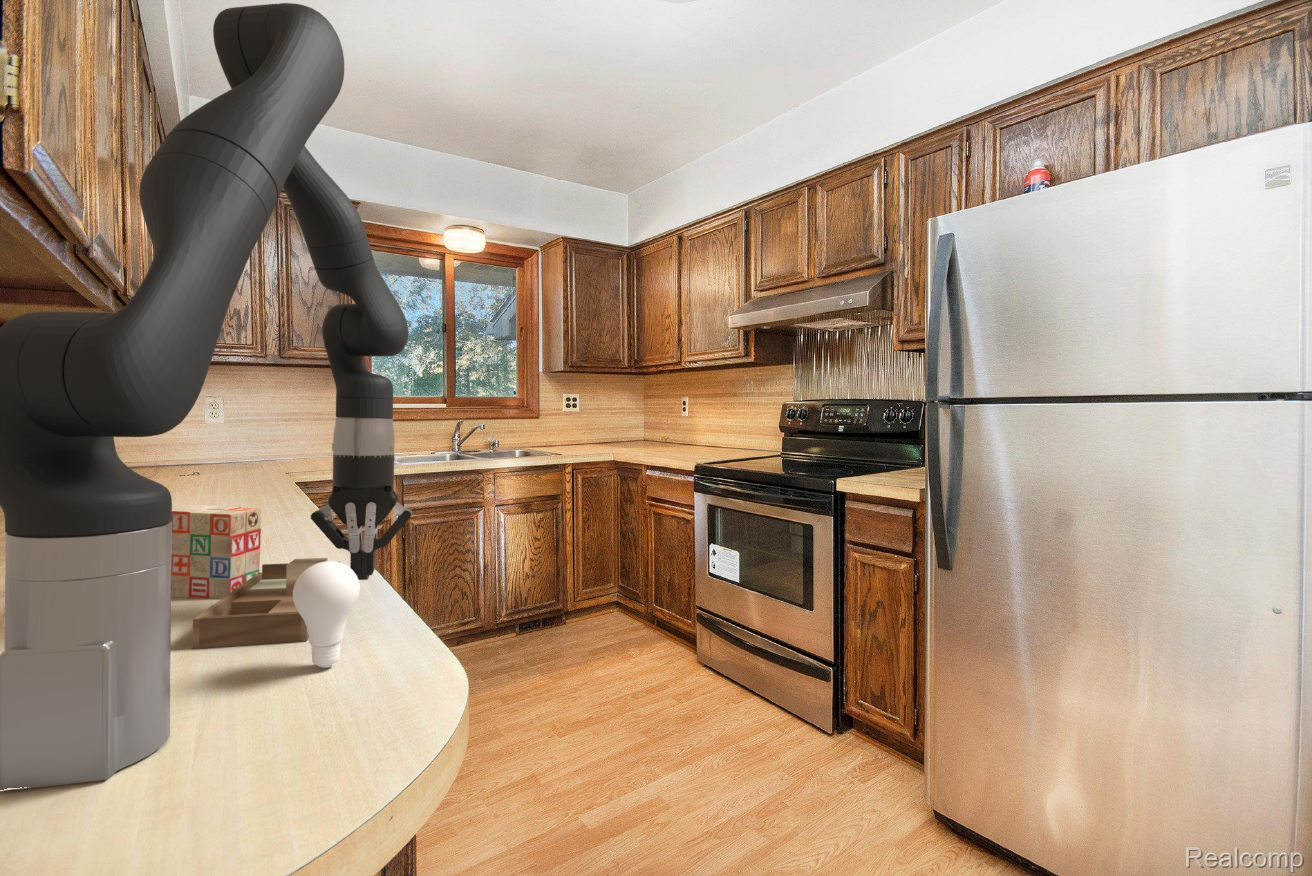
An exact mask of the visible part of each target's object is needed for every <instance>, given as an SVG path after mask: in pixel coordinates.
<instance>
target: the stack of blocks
mask: <svg viewBox="0 0 1312 876" xmlns="http://www.w3.org/2000/svg"><path fill="white" fill-rule="evenodd" d="M261 518H262V509H261V508H253V507H241V506H239V505H238V506H235V505H234V506H233V505H232V506H231V505H218V506H217V505H196V504H195V505H192V504H191V505H190V504H181V505H174V506H172V521H171V522H172V556H171V597H181V598H196V599H197V598H198V599H216V600H217V599H219V600H221V599H222V598H224V597H225V596H227V595H228V594H229V593H231V592H232V591H234V590H235V589H236V588H238V587H239V586H241V585H242V584H243V583H245V582H246V581H248V580H249V579H251V578H252V577H253V576H255V575H256V574H258V573H261V572H260V571H261V569H260V564H261V563H260V559H261V558H260V557H261V556H260V555H261V543H262V538H261V537H262V535H261V534H262V529H261V525H262V524H261V523H262V522H261V521H262V519H261Z"/></svg>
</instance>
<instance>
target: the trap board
mask: <svg viewBox="0 0 1312 876" xmlns="http://www.w3.org/2000/svg"><path fill="white" fill-rule="evenodd" d="M338 562H339V563H341V561H338ZM289 563H290V562H289ZM289 563H287V562H286V563H263V564H262V565H261V572H260V573H258V574H256V575H255V576H253V577H252V578H251V579H249V580H248V581H246V582H245V583H243V584H242V585H241V586H239V587H238V588H236V589H235V590H234V591H232V592H231V593H229V594H228V595H227V596H225V597H224V598H222V599H219V600H218V601H216V602H215V603H214V604H212V605H211V606H210V607H208V608H207V609H206V610H204V611H203V612H201V613H200V614H198V615H197V616H196V617H194V618H192V619H193V620H192V649H193V650H197V649H211V648H212V649H213V648H227V647H238V646H239V647H241V646H244V647H245V646H257V645H273V644H283V643H282V642H289V643H299V642H300V641H301V642H302V641H304V642H308V641H309V639H308V638H309V634H308V630H307V626H306V624H305V621H304V620H303V618H302V617H301V615H300V614H299V612H298V610H297V608H296V607H295V605H294V601H293V596H286V566H287V565H288V564H289ZM301 642H300V643H301Z"/></svg>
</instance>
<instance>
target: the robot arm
mask: <svg viewBox="0 0 1312 876" xmlns="http://www.w3.org/2000/svg"><path fill="white" fill-rule="evenodd" d="M213 22H214V23H213V27H212V34H213V36H212V37H213V43H214V48H215V52H216V55H217V58H218V60H219V63H220V66H221V68H222V71H223V73H224V76H225V78H226V80H227V83H228V85H229V86H230V90H227V91H226V92H224V93H222V94H220V95H218V96H217V97H214V99H211V100H210V101H208V102H207V103H205V104H203V105H202V106H200V107H198V108H197V109H195V110H194V111H192V112H190V114H187V116H185V117H184V118H182V119H181V120H180V121H179V122H178V123H177V124H176V125H175V126H174V127H173V128H172V129H171V131H169V133H168V134H167V135H166V136H165V138H164V140H163V141H162V142H161V144H160V146H158V147H159V148H157V150H156V152H155V153H154V155H153V157H152V158H151V159H150V161H149V162H148V164H147V166H146V168H145V170H144V172H143V174H142V175H141V179H140V182H139V192H138V194H139V198H138V199H139V205H140V209H141V212H142V213H141V214H142V216H143V219H144V223H145V226H146V229H147V232H148V235H149V237H150V240H151V245H152V248H153V258H152V261H151V263H150V266H149V269H148V271H147V273H146V275H145V277H144V278H143V281H142V282H141V284H140V286H139V287H138V289H137V290H136V292H135V293H134V295H133V296H132V297H131V299H130V300H129V301H128V302H127V303H126V304H125V306H123V307H121V309H119V310H118V311H115V312H95V311H93V312H92V311H90V312H89V311H88V312H87V311H85V312H84V311H34V312H29V313H27V312H26V313H24V314H21V315H18V316H15V317H13V318H11V319H10V320H8V321H7V322H5V323H4V324H3V325H2V326H0V508H1V509H2V511H3V515H4V532H5V543H4V544H5V550H4V551H5V561H4V562H5V563H4V564H5V567H4V568H5V570H4V572H5V573H4V651H2V653H0V790H4V789H7V788H20V787H22V788H24V787H27V789H29V788H28V787H36V788H42V787H43V786H44V787H49V786H50V787H52V785H53V786H60V785H61V786H62V785H69V784H79V783H86V782H94V781H95V782H97V781H104V780H107V779H109V778H110V777H111V776H113V774H114V773H116V772H117V771H119V770H121V769H123V768H126V767H128V766H129V765H132V764H135V763H136V762H137V763H138V762H139V761H141V760H143V759H146V757H148V756H150V755H152V754H154V753H155V752H156V751H157V750H158V749H159V750H160V748H162V747H163V746H164V744H166V742H167V741H168V739H169V738H170V734H171V642H172V641H171V638H172V637H171V634H172V633H171V631H172V629H171V628H172V627H171V625H172V624H171V623H172V622H171V621H172V619H171V618H172V617H171V616H172V615H171V613H172V610H171V609H172V596H171V556H172V522H171V521H172V507H173V501H172V500H173V499H172V494H171V492H170V490H169V489H168V488H167V487H166V486H165V485H163V484H162V483H160V482H157V481H154V480H152V479H150V478H148V477H146V476H144V475H141V474H139V473H138V472H136V471H134V470H133V469H131V468H130V467H129V466H128V465H127V464H126V463H124V461H122V459H121V458H120V457H119V455H118V453H117V449H116V444H115V438H145V437H146V438H147V437H155V436H160V435H164V434H165V433H168V432H170V431H172V430H173V429H174V428H176V427H177V426H179V425H180V424H181V423H182V422H183V421H184V420H185V418H186V417H187V416H188V415H189V413H190V412H191V411H192V409H194V408H193V407H194V406H195V404H196V402H197V400H198V399H199V395H200V394H201V392H202V389H203V386H204V384H205V381H206V378H207V375H208V372H209V369H210V366H211V363H212V360H213V357H214V353H215V349H216V347H217V344H218V341H219V338H220V334H221V331H222V327H223V324H224V322H225V319H226V315H227V313H228V309H229V306H230V304H231V301H232V299H233V296H234V294H235V291H236V289H237V286H238V284H239V283H240V279H241V277H242V274H243V273H244V270H245V268H246V266H247V264H248V261H249V259H250V257H251V255H252V253H253V251H254V248H255V247H256V245H257V244H258V243H257V242H258V241H259V239H260V237H261V235H262V234H263V232H264V231H265V228H266V227H267V224H268V223H269V222H268V221H269V220H270V218H271V216H272V213H273V212H274V210H275V207H276V206H277V202H278V200H279V198H280V196H281V193H282V192H283V191H284V193H285V194H286V197H287V199H288V201H289V203H290V205H291V208H292V211H293V212H294V215H295V217H296V220H297V223H298V225H299V228H300V231H301V233H302V236H303V238H304V242H305V245H306V247H307V250H308V253H309V256H310V259H311V262H312V264H313V267H314V270H315V273H316V276H317V278H318V280H319V283H320V284H321V285H322V287H324V288H325V289H327V290H330V291H333V292H336V293H341V294H344V295H345V296H348V297H350V298H351V300H352V301H353V303H339V304H336V305H334V306H333V307H331V308H330V309H329V310H328V311H327V313H326V314H325V316H324V319H323V322H322V329H321V331H322V333H321V335H322V340H323V344H324V349H325V351H326V352H325V353H326V355H327V359H328V361H329V366H330V371H331V374H332V377H333V381H334V385H335V392H336V393H335V417H336V418H335V422H334V428H333V435H332V436H333V440H332V441H333V442H332V444H331V445H332V447H331V450H332V490H331V494H330V495H329V497H328V499H327V504H325V505H324V506H322V508H320V509H318V510H317V509H316V510H315V511H314V512H312V513H311V515H310V519H311V520H312V522H313V523H314V524H315V526H317V528H318V529H319V530H320V531H321V533H323V534H324V535H325V537H326V538H327V539H328V540H329V541H330V542H331V543H332V545H333V546H334V547H335V548H336V549H338V550H341V549H342V550H346V551H348V552H349V554H350V561H349V562H350V566H349V567H350V568H351V569H352V570H353V571H354V573H355V574H356V576H357V578H358V580H359V581H368V580H369V578H370V576H372V575H373V574H374V572H375V570H376V565H375V564H376V551H377V550H379V549H381V548H386V547H387V546H388V544H389V543H390V542H391V540H392V539H393V538H394V537H395V536H396V535H397V534H398V533H399V531H400V530H401V529H402V528H403V527H404V526H405V524H406V523H407V522H408V521H409V520H410V519H411V517H412V515H413V512H414V511H413V509H411V508H410V507H409V508H408V507H405V506H404V505H403V504H401V503H399V502H398V496H397V494H396V492H395V489H394V488H395V439H396V438H395V428H394V420H393V419H394V385H393V383H392V380H391V379H390V378H389V377H387V376H383V375H381V374H377V373H374V372H373V373H372V372H370V370H368V367H367V366H366V363H365V359H364V357H385V358H386V357H393V356H397V355H398V354H401V352H402V351H404V348H406V345H407V344H408V339H409V326H408V321H407V318H406V316H405V313H404V311H403V309H402V307H401V306H400V304H399V302H398V301H397V300H396V298H395V296H394V294H393V293H392V291H391V289H390V288H389V286H388V284H387V283H386V281H385V280H384V279H385V278H383V276H382V274H381V273H380V271H379V270H378V268H377V265H376V262H375V259H374V255H373V252H372V249H371V246H370V241H369V239H368V236H367V235H368V234H367V232H366V229H365V225H364V223H363V220H362V218H361V216H360V214H359V212H358V209H357V208H356V207H355V205H354V204H353V203H352V201H351V199H350V198H349V197H348V195H347V194H346V193H345V192H344V190H342V188H341V187H340V186H339V185H338V184H337V183H336V182H335V181H334V179H333V178H332V177H331V176H330V175H329V174H328V172H326V171H325V170H324V168H323V167H322V166H321V165H320V164H319V162H318V161H317V159H315V158H314V156H313V155H312V154H311V152H310V150H309V149H308V147H306V144H307V141H308V140H309V138H310V137H311V135H312V134H313V132H314V131H315V130H316V128H317V126H318V125H319V124H320V122H321V121H322V120H323V118H324V117H325V115H326V114H327V113H328V112H329V110H330V109H331V108H332V106H333V105H334V103H335V101H336V100H337V98H338V96H339V95H340V92H341V90H342V88H343V87H342V86H343V82H344V79H345V77H344V76H345V58H344V57H345V56H344V50H343V47H342V42H341V39H340V37H339V35H338V33H337V31H336V29H335V28H334V27H333V25H332V23H331V22H330V21H329V20H328V19H327V17H325V16H324V15H323V14H322V13H321V12H320V11H318V10H316V9H314V8H313V7H310V6H308V5H303V4H300V3H292V2H280V3H267V4H256V5H248V6H247V5H245V6H236V7H235V6H233V7H229V8H228V7H227V8H225V9H223V10H222V11H220V12H218V14H217V16H216V17H215V19H214V21H213ZM282 190H283V191H282ZM392 510H393V514H392V520H393V521H394V522H393V523H391V525H390V527H389V528H388V529H387V530H385V533H384V534H383V535H382V536H381V537H378V529H379V525H381V523H382V522H384V521H385V519H386V518H387V517H388V515H389V514H390V512H391V511H392ZM333 513H335V515H336V516H337V517H338V519H339V521H341V522H342V523H343V524H344V525H345V526H346V528H347V529H346V531H347V536H348V537H347V536H346V535H345V534H344V532H343V531H342V530H341V529H340V528H339V526H337V524H336V523H335V522H334V521H333V520H334V517H335V516H334V514H333ZM363 527H364V528H363ZM363 529H364V532H363ZM362 533H363V534H362ZM363 536H364V537H363ZM377 537H378V538H377Z"/></svg>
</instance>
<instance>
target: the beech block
mask: <svg viewBox="0 0 1312 876" xmlns="http://www.w3.org/2000/svg"><path fill="white" fill-rule="evenodd" d="M325 561H329V560H328V557H309V558H294V559H293V560H292V561H290V562H289V564H288V565H287V566H286V596H293V589H294V585H295V583H296V581H297V579H298V578H299V576H300V575H301V574H302V573H303V572H304V571H305V570H306V569H308V568H309V567H311V566H313V565H315V564H317V563H321V562H325Z"/></svg>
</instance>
